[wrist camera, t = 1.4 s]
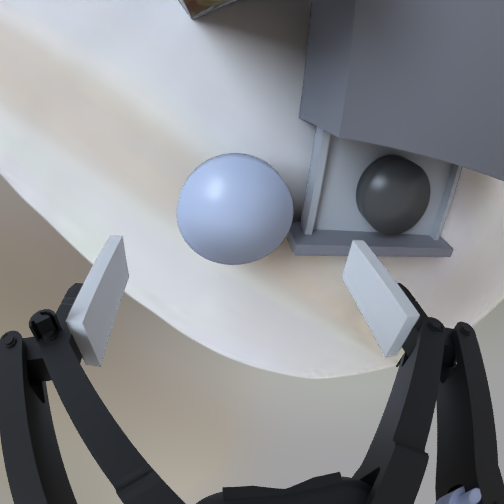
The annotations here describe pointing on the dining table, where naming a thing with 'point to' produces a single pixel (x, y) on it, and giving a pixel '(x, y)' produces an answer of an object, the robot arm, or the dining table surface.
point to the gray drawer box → (410, 77)
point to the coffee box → (202, 6)
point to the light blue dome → (234, 209)
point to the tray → (344, 177)
